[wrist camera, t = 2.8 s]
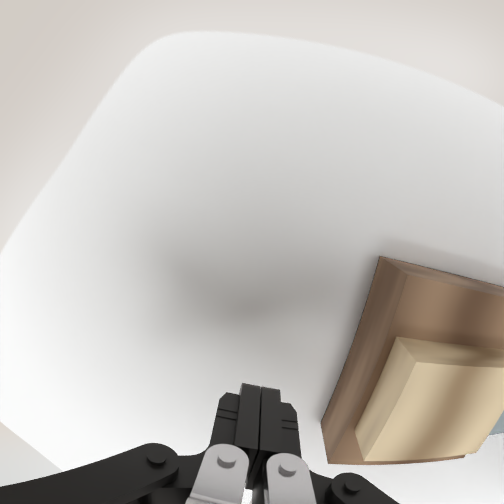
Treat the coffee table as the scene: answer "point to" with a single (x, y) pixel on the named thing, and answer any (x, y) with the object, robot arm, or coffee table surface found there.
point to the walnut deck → (407, 326)
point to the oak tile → (432, 401)
